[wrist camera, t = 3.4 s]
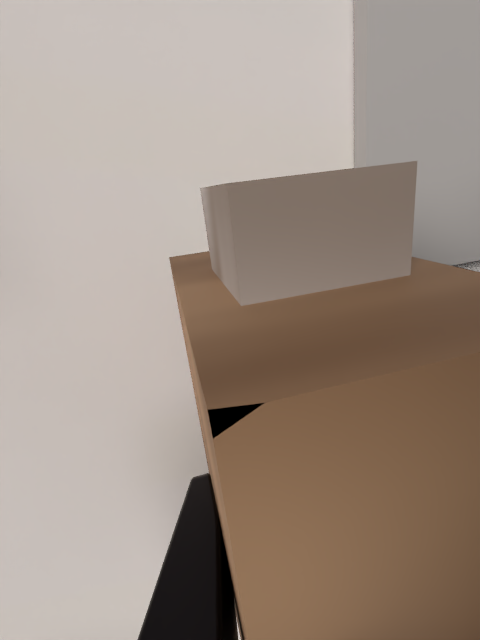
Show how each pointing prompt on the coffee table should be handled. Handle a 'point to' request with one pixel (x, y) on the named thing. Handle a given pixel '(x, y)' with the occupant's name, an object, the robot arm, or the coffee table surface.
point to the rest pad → (424, 113)
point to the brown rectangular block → (337, 408)
